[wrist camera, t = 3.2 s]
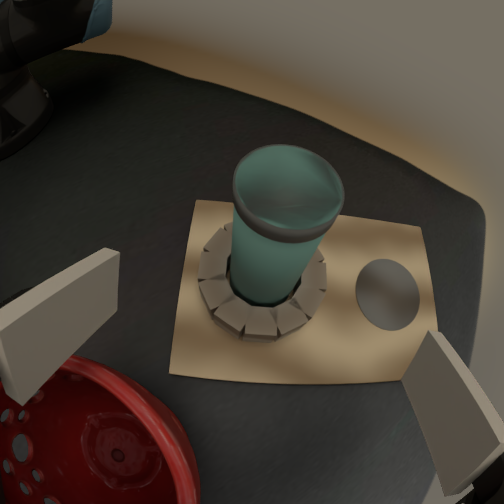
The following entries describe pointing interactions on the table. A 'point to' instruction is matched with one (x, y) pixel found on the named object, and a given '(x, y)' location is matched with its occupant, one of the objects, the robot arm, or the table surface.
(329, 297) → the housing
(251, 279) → the teal cylindrical container
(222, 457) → the table surface
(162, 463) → the plant pot
